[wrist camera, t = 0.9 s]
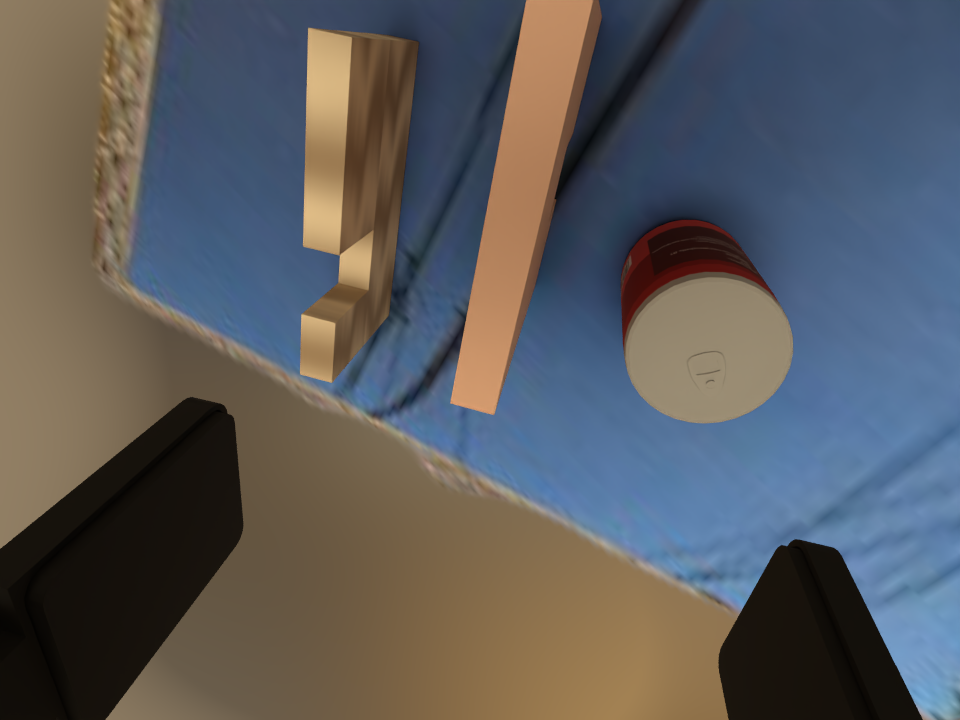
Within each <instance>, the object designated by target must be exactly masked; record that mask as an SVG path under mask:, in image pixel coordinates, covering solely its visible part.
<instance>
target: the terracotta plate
mask: <svg viewBox="0 0 960 720" xmlns="http://www.w3.org/2000/svg"><path fill="white" fill-rule="evenodd" d="M601 19H602V15H601V10H600V4H599V0H526V5H525V10H524V15H523V21H522V26H521V31H520V37H519V42H518V47H517V53H516V58H515V63H514V69H513V74H512V79H511V84H510V90H509V95H508V100H507V106H506V111H505V116H504V122H503V127H502V132H501V138H500V143H499V148H498V153H497V159H496V164H495V169H494V175H493V180H492V185H491V191H490V196H489V201H488V207H487V212H486V217H485V222H484V228H483V233H482V238H481V244H480V249H479V254H478V260H477V265H476V270H475V276H474V281H473V286H472V291H471V297H470V302H469V307H468V313H467V318H466V323H465V329H464V334H463V339H462V345H461V350H460V355H459V360H458V366H457V371H456V376H455V382H454V387H453V392H452V398H451V404H455V405H459V406H462V407H466V408H470V409H474V410H477V411H481V412H485V413H488V414H492V415H494V414H495V410H496V407H497V404H498V401H499V398H500V395H501V392H502V388H503V385H504V382H505V379H506V376H507V373H508V370H509V366H510V363H511V360H512V357H513V354H514V351H515V347H516V344H517V341H518V338H519V335H520V332H521V329H522V325H523V322H524V319H525V316H526V313H527V310H528V306H529V303H530V300H531V297H532V294H533V291H534V288H535V284H536V280H537V276H538V272H539V268H540V264H541V260H542V256H543V252H544V248H545V244H546V240H547V236H548V232H549V228H550V224H551V220H552V216H553V212H554V208H555V203H556V199H554V198H555V194H556V190H557V186H558V182H559V178H560V174H561V170H562V165H563V161H564V157H565V153H566V149H567V145H568V143H569V141H570V139H571V136H572V134H573V131H574V127H575V123H576V119H577V115H578V111H579V107H580V103H581V99H582V95H583V91H584V87H585V83H586V79H587V75H588V71H589V67H590V63H591V59H592V55H593V51H594V47H595V43H596V39H597V35H598V31H599V27H600V23H601Z"/></svg>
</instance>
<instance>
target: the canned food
mask: <svg viewBox="0 0 960 720" xmlns="http://www.w3.org/2000/svg"><path fill="white" fill-rule="evenodd" d="M621 307H622V332H623V347H624V357H625V363H626V367H627V370H628V374H629V376H630V379H631V381H632V383H633V385H634V387H635V388H636V390H637V391H638V393H639V394H640V396H641V397H642V398H644V399H645V400H646V401H647V402H648V403H649V404H650V405H651V406H652V407H654V408H655V409H657V410H658V411H660V412H661V413H663V414H666V415H668V416H670V417H673V418H675V419H679V420H683V421H687V422H693V423H715V422H723V421H726V420H730V419H734V418H737V417H740V416H742V415H744V414H746V413H749V412H751V411H752V410H754V409H755V408H757V407H758V406H760V405H762V404H763V403H764V402H765V401H766V400H767V399H769V398H770V397H771V396H772V395H773V394H774V393H775V392H776V390H777V389H778V388H779V386H780V385H781V383H782V382H783V381H784V379H785V376H786V374H787V372H788V370H789V368H790V364H791V359H792V354H793V336H792V332H791V329H790V325H789V322H788V319H787V316H786V314H785V313H784V311H783V309H782V307H781V305H780V304H779V302H778V301H777V299H776V297H775V296H774V294H773V292H772V291H771V290H770V288H769V287H768V285H767V284H766V283H765V281H764V280H763V278H762V277H761V275H760V274H759V273H758V271H757V270H756V268H755V267H754V266H753V264H752V263H751V261H750V260H749V258H748V257H747V256H746V254H745V253H744V251H743V250H742V249H741V247H740V246H739V244H738V243H737V242H736V241H735V240H734V239H733V237H732V236H731V235H730V234H728V233H727V232H726V231H724V230H723V229H721V228H720V227H718V226H715V225H713V224H711V223H708V222H703V221H699V220H679V221H674V222H669V223H666V224H664V225H661V226H659V227H657V228H655V229H653V230H652V231H650V232H649V233H647V234H646V235H645V236H643V237H642V238H641V239H640V240H639V241H638V242H637V243H636V244H635V246H634V247H633V248H632V250H631V251H630V252H629V254H628V257H627V259H626V261H625V263H624V266H623V270H622V274H621Z"/></svg>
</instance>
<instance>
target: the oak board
mask: <svg viewBox="0 0 960 720" xmlns="http://www.w3.org/2000/svg"><path fill="white" fill-rule="evenodd" d="M418 46H419V42H417V41H413V40H408V39H403V38H399V37H394V36H389V35H382V34H371V33H360V32H348V31H337V30H326V29H315V28H308V65H307V107H306V149H305V192H304V234H303V246H304V247H308V248H312V249H316V250H320V251H324V252H328V253H332V254H336V255H340V266H339V283H338V284H337V285H336V286H334V287H333V288H332V289H331V290H330V291H329V292H327V293H326V294H325V295H324V296H323V297H321V298H320V299H319V300H318V301H317V302H316V303H314V304H313V305H312V306H311V307H310V308H308V309H307V310H306V311H305V312H304V313H303V314H302V318H301V361H300V374H301V375H305V376H309V377H312V378H316V379H320V380H323V381H327V382H331V383H332V382H333V381H334V380H335V379H336V377H337V376H338V375H339V374H340V373H341V371H342V370H343V369H344V368H345V367H346V366H347V364H348V363H349V362H350V361H351V360H352V358H353V357H354V356H355V355H356V354H357V352H358V351H359V350H360V349H361V348H362V347H363V345H364V344H365V343H366V342H367V341H368V339H369V338H370V337H371V336H372V335H373V333H374V332H375V331H376V330H377V329H378V328H379V326H380V325H381V324H382V323H383V322H384V320H385V319H386V318H387V317H388V316H389V309H390V300H391V291H392V282H393V272H394V263H395V254H396V245H397V236H398V227H399V218H400V209H401V200H402V191H403V182H404V173H405V164H406V155H407V146H408V137H409V128H410V119H411V110H412V100H413V91H414V82H415V73H416V64H417V55H418Z"/></svg>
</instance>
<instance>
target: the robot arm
mask: <svg viewBox="0 0 960 720" xmlns="http://www.w3.org/2000/svg"><path fill="white" fill-rule="evenodd" d="M242 531H243V514H242V503H241V491H240V479H239V467H238V455H237V444H236V432H235V422H234V418H233V416H232V415H229V414H227V409H226V408H225V406H224V405H222V404H219V403H215V402H211V401H206V400H202V399H198V398H193V397H190V398H187V399H185V400H183V401H182V402H181V403H179V404H178V405H177V406H176V407H175V408H173V409H172V410H171V411H170V412H168V413H167V414H166V415H165V416H163V417H162V418H161V419H160V420H159V421H158V422H156V423H155V424H154V425H152V426H151V427H150V428H149V429H148V430H146V431H145V432H144V433H143V434H141V435H140V436H139V437H138V438H136V439H135V440H134V441H133V442H131V443H130V444H129V445H128V446H127V447H125V448H124V449H123V450H122V451H120V452H119V453H118V454H117V455H116V456H114V457H113V458H112V459H111V460H109V461H108V462H107V463H106V464H104V465H103V466H102V467H101V468H99V469H98V470H97V471H96V472H94V473H93V474H92V475H91V476H90V477H88V478H87V479H86V480H85V481H83V482H82V483H81V484H80V485H78V486H77V487H76V488H75V489H74V490H72V491H71V492H70V493H69V494H67V495H66V496H65V497H64V498H63V499H61V500H60V501H59V502H58V503H56V504H55V505H54V506H53V507H51V508H50V509H49V510H48V511H46V512H45V513H44V514H43V515H42V516H40V517H39V518H38V519H37V520H35V521H34V522H33V523H32V524H30V525H29V526H28V527H27V528H26V529H24V530H23V531H22V532H21V533H20V534H18V535H17V536H16V537H14V538H13V539H12V540H11V541H10V542H8V543H7V544H6V545H5V546H3V547H2V548H1V549H0V720H105V719H106V718H107V717H108V716H109V714H110V713H111V712H112V710H113V709H114V708H115V706H116V705H117V704H118V702H119V701H120V700H121V698H122V697H123V696H124V694H125V693H126V692H127V690H128V689H129V688H130V686H131V685H132V684H133V682H134V681H135V680H136V678H137V677H138V676H139V674H140V673H141V672H142V670H143V669H144V668H145V666H146V665H147V664H148V662H149V661H150V660H151V658H152V657H153V656H154V654H155V653H156V652H157V650H158V649H159V648H160V646H161V645H162V644H163V642H164V641H165V640H166V638H167V637H168V636H169V634H170V633H171V632H172V630H173V629H174V628H175V626H176V625H177V624H178V622H179V621H180V620H181V618H182V617H183V616H184V614H185V613H186V612H187V610H188V609H189V608H190V607H191V605H192V604H193V603H194V601H195V600H196V599H197V597H198V596H199V594H200V593H201V592H202V590H203V589H204V588H205V586H206V585H207V584H208V583H209V581H210V580H211V578H212V577H213V576H214V575H215V573H216V572H217V570H218V569H219V568H220V566H221V565H222V564H223V562H224V561H225V560H226V559H227V557H228V556H229V554H230V553H231V552H232V551H233V549H234V548H235V547H236V545H237V543H238V542H239V540H240V537H241V534H242ZM719 673H720V678H721V683H722V688H723V693H724V698H725V703H726V708H727V713H728V718H729V720H923V719H922V717H921V715H920V713H919V711H918V709H917V707H916V705H915V703H914V701H913V699H912V697H911V695H910V693H909V691H908V689H907V687H906V685H905V683H904V681H903V679H902V677H901V675H900V673H899V670H898V668H897V666H896V665H895V663H894V661H893V659H892V657H891V655H890V653H889V651H888V649H887V647H886V645H885V643H884V641H883V639H882V637H881V635H880V633H879V630H878V628H877V626H876V624H875V622H874V620H873V618H872V616H871V614H870V612H869V610H868V608H867V606H866V604H865V602H864V600H863V598H862V596H861V594H860V592H859V590H858V588H857V586H856V584H855V582H854V580H853V578H852V576H851V574H850V572H849V570H848V568H847V566H846V564H845V562H844V560H843V558H842V556H841V554H840V553H839V551H838V550H836V549H835V548H833V547H829V546H824V545H820V544H816V543H811V542H807V541H803V540H797V539H795V540H793V541H791V542H790V543H789V545H788V546H784V545H781V546H779V547H778V548H777V549H776V551H775V552H774V554H773V556H772V558H771V559H770V561H769V563H768V565H767V567H766V568H765V570H764V572H763V574H762V575H761V577H760V579H759V581H758V583H757V584H756V586H755V588H754V590H753V591H752V593H751V595H750V597H749V599H748V600H747V602H746V604H745V606H744V607H743V609H742V611H741V613H740V615H739V616H738V618H737V620H736V622H735V624H734V625H733V627H732V629H731V631H730V632H729V634H728V636H727V638H726V640H725V641H724V643H723V645H722V647H721V649H720V653H719Z"/></svg>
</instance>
